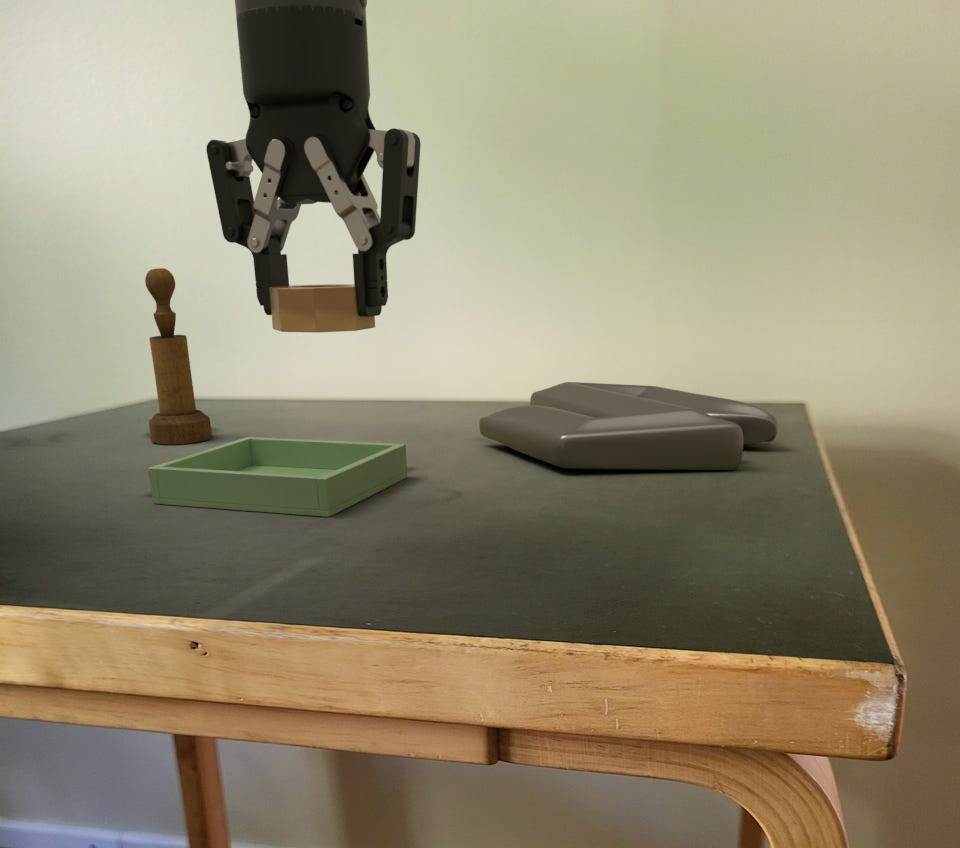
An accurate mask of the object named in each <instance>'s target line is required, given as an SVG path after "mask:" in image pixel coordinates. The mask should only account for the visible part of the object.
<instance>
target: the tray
mask: <svg viewBox="0 0 960 848" xmlns="http://www.w3.org/2000/svg"><path fill="white" fill-rule="evenodd" d="M407 461H408V460H407V445H406V444H405V443H385V442H366V441H365V442H363V441H343V440H342V441H341V440H325V439H324V440H322V439H321V440H320V439H303V438H302V439H300V438H277V437H259V436H258V437H256V436H255V437H254V436H246V437H243V438H240V439H237V440H233V441H230V442H227V443H223V444H219V445H218V446H214V447H211V448H208V449H205V450H201V451H198V452H195V453H192V454H188V455H186V456H183V457H179V458H176V459H173V460H169V461H166V462H163V463H160V464H157V465H153V466H149V467H148V468H147V472H148V478H149V485H150V492H151V498H152V503H153V505H164V506H165V505H168V506H179V507H190V508H191V507H193V508H207V509H219V510H231V511H232V510H233V511H245V512H256V513H257V512H258V513H271V514H283V515H284V514H285V515H297V516H298V515H299V516H310V517H323V518H329V517H331V516H334V515H335V514H338V513H340V512H342V511H344V510H345V509H347V508H349V507H351V506H354V505H356V504H357V503H359V502H362V501H364V500H365V499H368V498H370V497H372V496H373V495H375V494H377V493H379V492H382V491H383V490H385V489H387V488H389V487H392V486H393V485H395V484H397V483H399V482H401V481H403V480H405V479H407V478H408V463H407Z"/></svg>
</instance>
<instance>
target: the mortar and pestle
mask: <svg viewBox="0 0 960 848" xmlns="http://www.w3.org/2000/svg"><path fill="white" fill-rule="evenodd" d="M144 282H145V287H146V289H147V291H148V292H149V294H150V296H151V297H152V298H153V300H154V301H155V308H156V309H155V312H154V313H153V318H154V322H155V324H156V326H157V329H158V332H159V335H155V336H150V337H149V346H150V353H151V358H152V366H153V372H154V373H153V374H154V381H155V387H156V394H157V401H158V410H159V411H158V412H157V413H155V414H154V415H153V416H152V417H151V418H150V419H149V421H148V426H149V435H150V441H151V442H152V443H153V444H157V445H165V446H166V445H169V446H170V445H171V446H172V445H189V444H195V443H201V442H206V441H208V440H211V439H212V438H213V432H212V425H211V418H210V417H209V415H207V414H205V413H204V412H203V411H202V410H200V409H197V406H196V400H195V392H194V385H193V384H194V383H193V377H192V372H191V371H192V369H191V361H190V354H189V347H188V345H189V344H188V337H187V335H185V334H175V329H176V320H177V313H176V312H175V311H173V310H172V308H171V300H172V298H173V295H174V292H175V289H176V279H175V277H174V275H173V273H172V272H171V270H169V269H167V268H163V267H160V268H152V269H150V270H149V271H147V273H146V275H145V278H144Z"/></svg>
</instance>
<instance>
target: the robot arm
mask: <svg viewBox="0 0 960 848" xmlns="http://www.w3.org/2000/svg"><path fill="white" fill-rule="evenodd" d="M367 4H368V0H234V6H235V8H234V9H235V17H236V19H235V20H236V29H237V30H236V31H237V39H238V51H239V61H240V72H241V80H242V81H241V82H242V91H243V92H242V93H243V94H242V95H243V96H244V99H245V100H244V101H245V102H246V105H247V108H248V111H249V121H248V122H249V123H248V128H247V131H246V134H245V137H242V138H238V139H234V140H229V141H227V140H220V139H211V140H209V141H208V143H206V147H205V149H206V150H205V151H206V155H207V160H208V166H209V170H210V176H211V181H212V186H213V190H214V196H215V200H216V205H217V211H218V215H219V221H220V225H221V231H222V236H223V237H224V239H225V241H227V242H228V243H231V244H232V243H234V244H237V245H240V246H243V247H245V248H246V249H248V250H249V251H250V253H251V255H252V258H253V268H254V280H255V288H256V290H255V291H256V299H257V301H258V302H259V306H261V307H262V306H263V311H264V313H265V315H267V316H272V314H271V303H270V291H269V287H276V286H290V279H289V267H288V254H287V253H285V254H284V253H283V254H282V251H283V249H284V248H285V245H286V240H287V239H288V235H289V231H290V228H291V225H292V224H293V222H294V221H295V220H296V219H297V218H298V216H299V213H300V210H301V207H302V205H313V204H316V203H326V204H331V205H332V207H333V210H334V211H335V213H336V215H337V216H338V217H339V218H340V219H341V220H342V221H343V222H344V224H345V226H346V229H347V231H348V233H349V236H350V237H351V239H352V242H353V243H354V246H355V247H356V249H357V253H352V266H353V284H354V285H355V288H356V300H357V312H358V315H359V316H361V317H371V316H375V317H376V316H377V317H378V316H380V315H381V314H382V309H383V306H384V307H386V306H387V302H388V298H389V288H388V285H389V284H388V265H387V254H388V250H389V249H390V248H391V247H392V246H393V245H396V244H398V243H400V242H402V241H409V240H411V239H412V238H413V237H414V236H415V233H416V221H417V208H418V206H417V204H418V191H419V174H420V158H421V145H422V144H421V139H420V137H419V135H418V134H417V133H415V132H412V131H409V130H406V129H402V128H394V127H393V128H390V129H388V130H382V129H381V130H380V129H376V127H375V125H374V123H373V121H372V119H371V116H370V111H369V105H370V100H371V99H370V98H371V87H370V68H369V67H370V65H369V63H370V62H369V48H368V47H369V45H368V44H369V43H368V27H367V26H368V25H367V6H368V5H367ZM374 153H375V154H376V160H377V164H378V166H379V167H380V168H381V169H382V177H381V178H382V179H381V197H380V199H381V200H380V214H379V212H378V209H379V208H378V207H379V206H378V203H377V201H376V199H375V195H374V194H373V192H372V190H371V188H370V185H369V184H368V181H367V180H366V179H367V178H366V177H365V175H364V172H365V170H366V168H367V166H368V164H369V162H370V160H371V158H372V157H373V155H374ZM253 162H254V163H255V165H256V166H257V168H258V170H259V171H260V172H261V176H260V180H259V184H258V186H257V191H256V194H255V197H254V194H253V187H252V183H251V177H250V176H251V174H252V173H253V172H254V165H253Z"/></svg>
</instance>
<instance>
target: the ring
mask: <svg viewBox="0 0 960 848" xmlns="http://www.w3.org/2000/svg"><path fill="white" fill-rule="evenodd" d="M269 291H270V303H271V314H272V315H271V324H272V325H271V326H272V330H275V331H279V332H282V333H339V332H356V331H357V332H358V331H363V330H368V329H375V328H376V316H371V317H361V316H359V315H358V312H357V300H356V288H355V285H354V283H353V284H351V283H350V284H344V283H341V284H338V283H337V284H336V283H333V284H332V283H331V284H330V283H329V284H327V283H326V284H293V285H290V284H289V286H276V287H269Z"/></svg>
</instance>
